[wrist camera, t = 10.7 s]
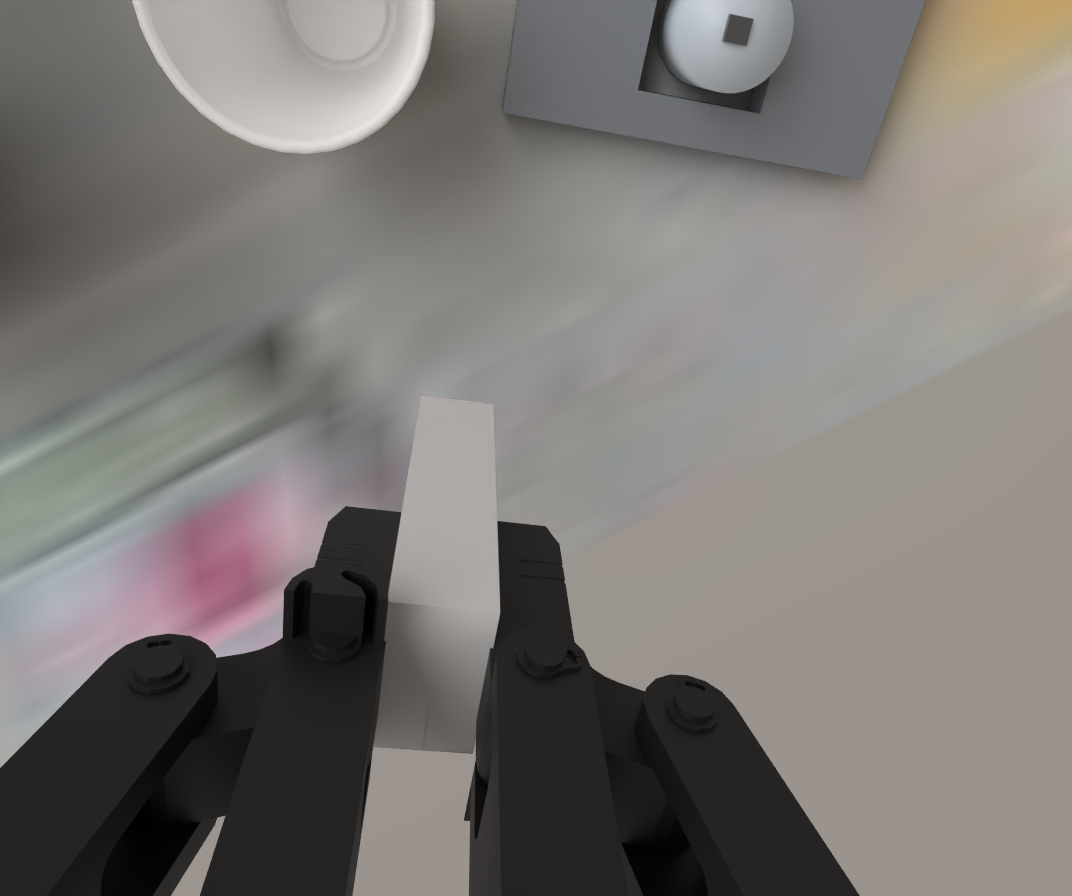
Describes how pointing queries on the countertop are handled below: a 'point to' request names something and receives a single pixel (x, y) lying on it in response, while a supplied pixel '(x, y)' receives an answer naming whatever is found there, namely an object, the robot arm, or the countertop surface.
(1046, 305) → the countertop surface
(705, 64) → the button one
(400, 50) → the cup
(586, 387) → the countertop surface
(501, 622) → the robot arm
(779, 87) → the console
